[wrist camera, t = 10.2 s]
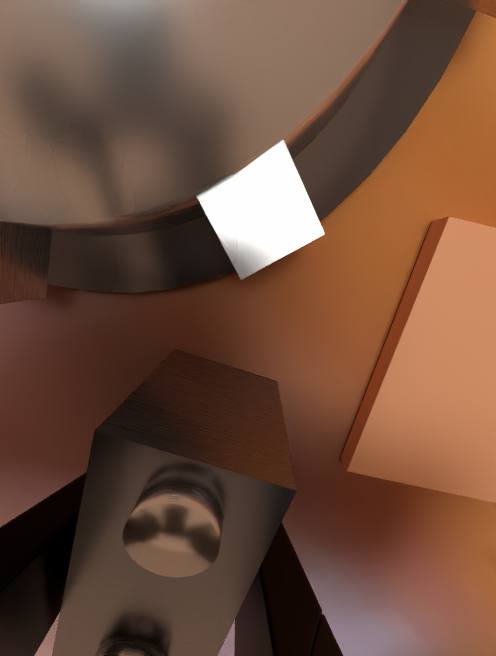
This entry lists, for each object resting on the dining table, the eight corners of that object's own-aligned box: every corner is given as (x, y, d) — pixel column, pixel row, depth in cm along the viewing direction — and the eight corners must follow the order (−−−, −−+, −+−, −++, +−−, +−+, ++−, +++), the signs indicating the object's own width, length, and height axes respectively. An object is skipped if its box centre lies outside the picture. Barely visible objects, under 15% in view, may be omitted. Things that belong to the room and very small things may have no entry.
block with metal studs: (217, 531, 10) (187, 740, 5) (133, 507, 9) (33, 703, 5) (277, 381, 8) (300, 514, 4) (175, 349, 8) (77, 448, 4)
